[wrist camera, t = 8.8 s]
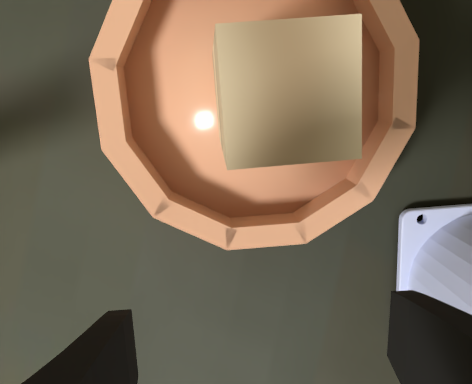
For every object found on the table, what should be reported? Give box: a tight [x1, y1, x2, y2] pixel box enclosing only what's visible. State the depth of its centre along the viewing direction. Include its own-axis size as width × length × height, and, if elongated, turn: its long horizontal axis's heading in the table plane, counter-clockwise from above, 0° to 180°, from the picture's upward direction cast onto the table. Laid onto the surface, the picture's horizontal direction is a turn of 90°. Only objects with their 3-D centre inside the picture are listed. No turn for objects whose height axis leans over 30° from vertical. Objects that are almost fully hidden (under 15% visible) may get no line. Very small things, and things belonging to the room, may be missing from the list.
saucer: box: [89, 0, 419, 250], centre depth 18 cm, size 13×13×2 cm
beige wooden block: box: [212, 14, 362, 170], centre depth 14 cm, size 4×4×8 cm
